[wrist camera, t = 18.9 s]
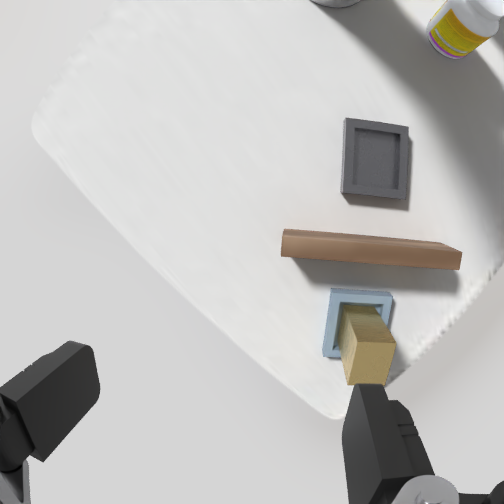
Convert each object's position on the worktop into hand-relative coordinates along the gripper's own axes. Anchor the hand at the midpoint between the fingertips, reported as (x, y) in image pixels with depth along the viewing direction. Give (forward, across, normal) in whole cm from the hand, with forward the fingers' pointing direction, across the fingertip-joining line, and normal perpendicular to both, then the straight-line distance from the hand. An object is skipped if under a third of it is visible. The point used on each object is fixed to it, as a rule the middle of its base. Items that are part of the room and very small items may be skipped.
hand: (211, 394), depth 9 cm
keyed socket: (+30, -11, +10) cm, 34 cm away
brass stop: (+30, -11, +10) cm, 33 cm away
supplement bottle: (+30, -22, -29) cm, 47 cm away
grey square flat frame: (+30, -11, -10) cm, 34 cm away
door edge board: (+30, -11, 0) cm, 32 cm away
